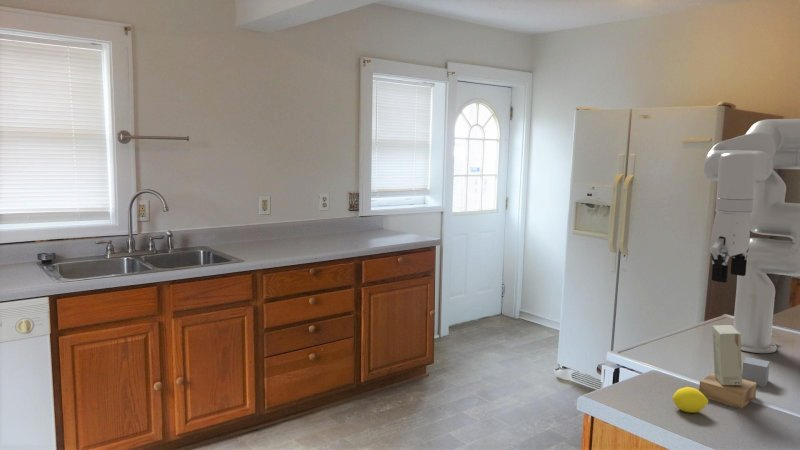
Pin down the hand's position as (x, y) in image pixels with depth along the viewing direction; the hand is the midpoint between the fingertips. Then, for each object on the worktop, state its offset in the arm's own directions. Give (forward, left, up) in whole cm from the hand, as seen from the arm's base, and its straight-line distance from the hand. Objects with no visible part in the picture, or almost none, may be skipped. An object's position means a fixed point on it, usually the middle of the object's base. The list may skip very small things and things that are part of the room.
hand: (728, 278), depth 137 cm
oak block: (+6, +4, -27) cm, 28 cm away
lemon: (+20, +3, -27) cm, 34 cm away
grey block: (-10, +4, -26) cm, 28 cm away
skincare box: (+6, +4, -23) cm, 24 cm away
